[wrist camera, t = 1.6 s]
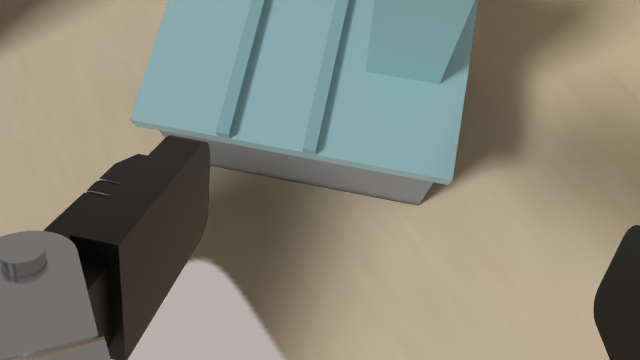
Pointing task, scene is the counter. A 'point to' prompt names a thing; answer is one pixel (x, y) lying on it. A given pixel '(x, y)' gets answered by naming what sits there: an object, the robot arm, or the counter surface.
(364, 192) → the tub
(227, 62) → the lid
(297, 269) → the counter surface
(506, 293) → the counter surface
